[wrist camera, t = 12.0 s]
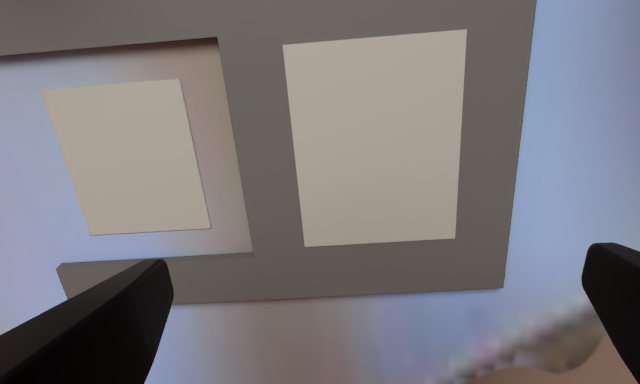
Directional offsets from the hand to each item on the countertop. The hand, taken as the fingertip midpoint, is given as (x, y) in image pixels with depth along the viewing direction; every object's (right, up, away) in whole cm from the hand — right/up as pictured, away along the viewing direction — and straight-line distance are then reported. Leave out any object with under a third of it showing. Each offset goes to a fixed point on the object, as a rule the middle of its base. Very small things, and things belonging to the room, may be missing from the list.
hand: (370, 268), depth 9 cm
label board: (-4, +3, +9) cm, 10 cm away
